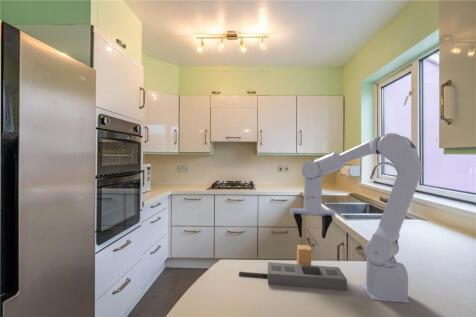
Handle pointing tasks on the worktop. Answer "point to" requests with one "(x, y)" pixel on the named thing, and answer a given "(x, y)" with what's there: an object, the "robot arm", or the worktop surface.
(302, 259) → the orange rectangular block
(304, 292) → the worktop surface
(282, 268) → the power strip
